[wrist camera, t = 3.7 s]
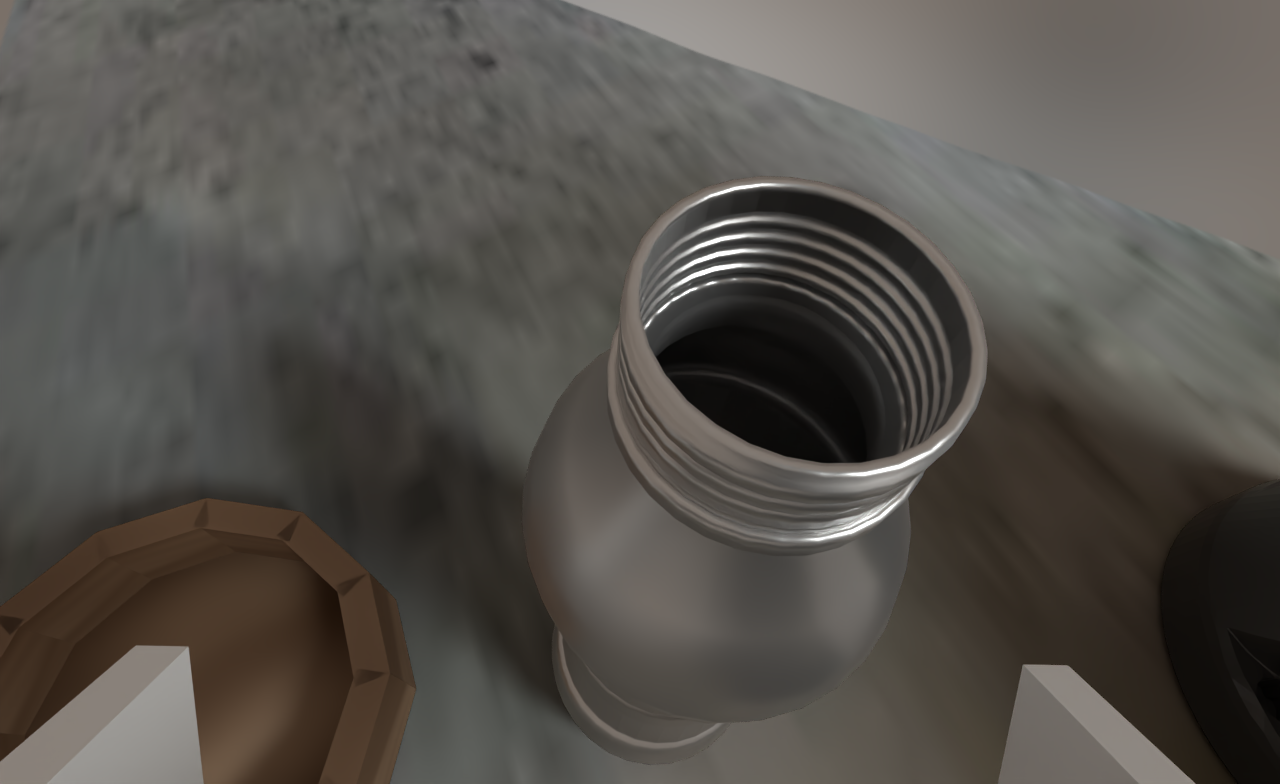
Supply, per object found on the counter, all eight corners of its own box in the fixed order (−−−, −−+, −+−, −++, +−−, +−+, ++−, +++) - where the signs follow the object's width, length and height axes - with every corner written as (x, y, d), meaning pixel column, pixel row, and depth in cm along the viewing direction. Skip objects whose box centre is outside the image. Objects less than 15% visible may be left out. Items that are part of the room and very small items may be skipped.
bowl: (484, 679, 23) (468, 663, 20) (160, 1068, 17) (71, 1126, 14) (262, 477, 26) (219, 436, 23) (-70, 752, 20) (-182, 746, 18)
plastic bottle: (563, 782, 21) (471, 758, 4) (547, 575, 25) (461, 98, 8) (754, 750, 22) (1322, 620, 5) (714, 554, 26) (972, 83, 8)
